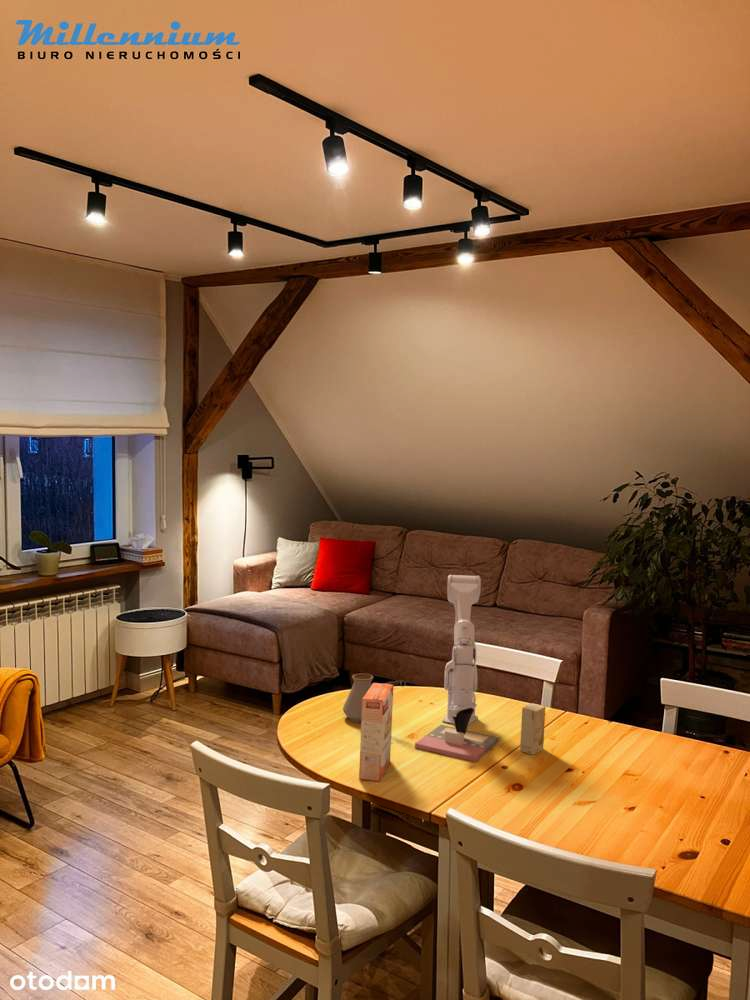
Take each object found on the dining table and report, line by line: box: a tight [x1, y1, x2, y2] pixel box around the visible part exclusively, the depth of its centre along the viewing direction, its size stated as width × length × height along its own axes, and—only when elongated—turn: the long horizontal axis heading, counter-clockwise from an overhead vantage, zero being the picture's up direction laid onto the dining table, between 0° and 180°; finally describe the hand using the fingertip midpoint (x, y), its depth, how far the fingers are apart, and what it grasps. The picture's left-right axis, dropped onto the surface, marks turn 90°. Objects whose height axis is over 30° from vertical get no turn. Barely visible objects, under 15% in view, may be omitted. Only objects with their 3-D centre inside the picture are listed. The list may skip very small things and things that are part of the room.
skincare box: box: [519, 702, 546, 755], centre depth 226 cm, size 6×4×12 cm
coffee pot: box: [342, 673, 407, 723], centre depth 244 cm, size 21×12×15 cm, turn 51°
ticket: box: [426, 724, 500, 754], centre depth 232 cm, size 10×18×1 cm, turn 61°
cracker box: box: [358, 682, 395, 782], centre depth 209 cm, size 14×6×21 cm, turn 168°
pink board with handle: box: [414, 730, 487, 763], centre depth 224 cm, size 7×18×4 cm, turn 61°
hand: (461, 734), depth 231 cm, fingers closed
